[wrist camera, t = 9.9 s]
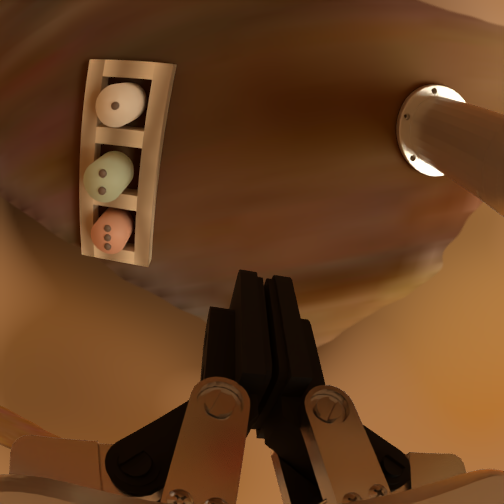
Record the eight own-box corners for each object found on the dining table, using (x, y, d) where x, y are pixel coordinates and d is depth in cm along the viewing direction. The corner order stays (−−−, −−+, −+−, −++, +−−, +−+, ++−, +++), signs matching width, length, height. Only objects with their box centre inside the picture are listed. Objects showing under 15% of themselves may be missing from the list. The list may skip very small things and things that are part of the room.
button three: (135, 209, 39) (125, 223, 36) (133, 241, 42) (125, 257, 38) (101, 203, 38) (89, 217, 35) (101, 235, 41) (90, 251, 37)
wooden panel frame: (176, 64, 30) (173, 64, 29) (151, 258, 44) (148, 267, 42) (96, 59, 29) (89, 59, 27) (86, 247, 42) (81, 254, 40)
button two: (135, 153, 33) (124, 163, 30) (132, 191, 36) (121, 206, 32) (98, 148, 33) (83, 158, 29) (96, 186, 35) (82, 200, 32)
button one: (150, 83, 31) (139, 85, 28) (143, 123, 34) (133, 129, 30) (111, 80, 30) (97, 82, 27) (106, 119, 33) (92, 125, 29)
